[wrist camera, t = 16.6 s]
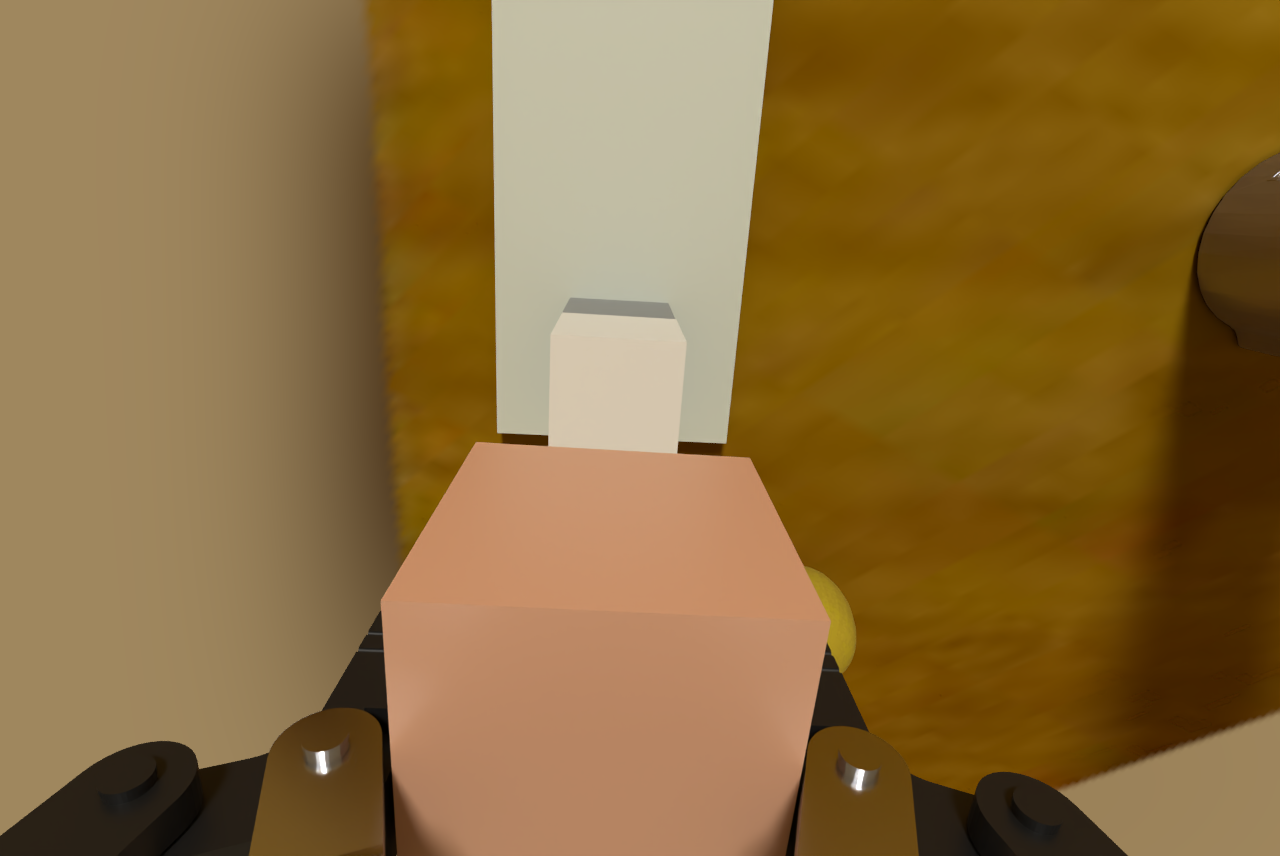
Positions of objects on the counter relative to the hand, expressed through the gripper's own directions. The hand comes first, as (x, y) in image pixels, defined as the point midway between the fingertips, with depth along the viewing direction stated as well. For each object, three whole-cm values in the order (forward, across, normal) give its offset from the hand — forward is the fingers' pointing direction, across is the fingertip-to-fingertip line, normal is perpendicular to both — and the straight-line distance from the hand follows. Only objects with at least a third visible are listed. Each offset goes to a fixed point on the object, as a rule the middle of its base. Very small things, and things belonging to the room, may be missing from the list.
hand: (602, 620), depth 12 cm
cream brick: (+17, 0, 0) cm, 17 cm away
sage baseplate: (+23, 0, -7) cm, 24 cm away
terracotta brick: (0, 0, 0) cm, 0 cm away
